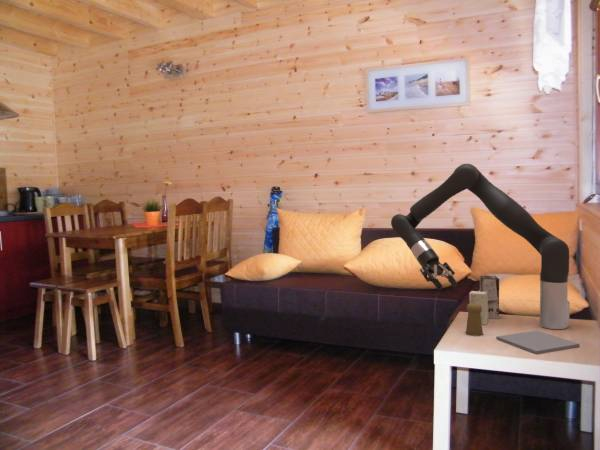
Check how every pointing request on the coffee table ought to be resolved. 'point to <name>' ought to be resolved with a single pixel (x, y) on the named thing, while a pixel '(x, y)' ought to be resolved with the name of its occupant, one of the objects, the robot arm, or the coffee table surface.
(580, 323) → the coffee table surface
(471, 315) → the cork
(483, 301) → the skincare box
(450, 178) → the robot arm
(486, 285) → the coffee box
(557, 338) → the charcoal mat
